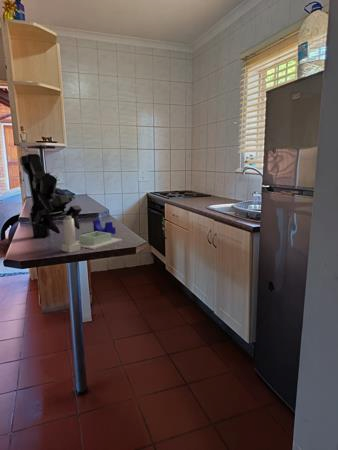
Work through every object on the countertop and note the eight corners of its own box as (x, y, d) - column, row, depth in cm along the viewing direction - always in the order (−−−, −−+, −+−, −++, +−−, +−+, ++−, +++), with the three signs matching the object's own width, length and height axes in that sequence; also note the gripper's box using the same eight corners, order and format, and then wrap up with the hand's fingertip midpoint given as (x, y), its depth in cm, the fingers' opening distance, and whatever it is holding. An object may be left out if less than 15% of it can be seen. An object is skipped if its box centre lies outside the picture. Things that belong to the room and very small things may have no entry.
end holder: (68, 244, 130) (68, 236, 129) (97, 236, 143) (97, 229, 142) (93, 249, 121) (92, 240, 120) (122, 240, 133) (121, 232, 133)
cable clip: (115, 233, 149) (114, 221, 148) (108, 235, 145) (107, 223, 144) (101, 230, 157) (100, 219, 156) (93, 232, 154) (93, 220, 152)
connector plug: (62, 250, 121) (58, 217, 118) (72, 247, 124) (69, 215, 122) (69, 252, 118) (66, 218, 115) (80, 249, 122) (77, 216, 119)
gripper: (34, 189, 112) (55, 221, 108) (76, 186, 127) (96, 213, 122) (26, 209, 118) (45, 240, 114) (67, 204, 133) (85, 231, 128)
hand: (69, 230), depth 119 cm, fingers open, 9 cm apart
